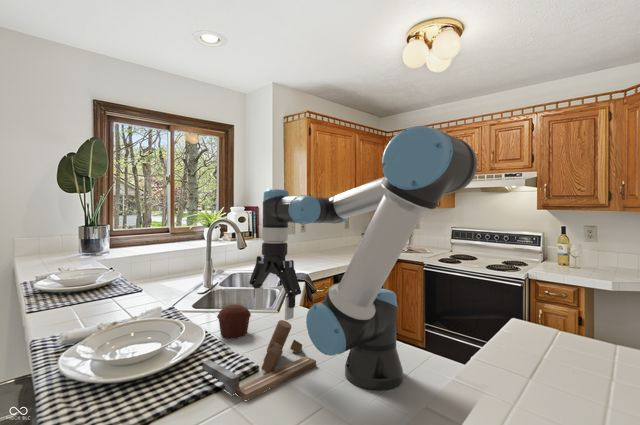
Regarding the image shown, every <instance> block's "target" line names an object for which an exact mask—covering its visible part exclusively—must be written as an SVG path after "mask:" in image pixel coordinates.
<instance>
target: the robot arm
mask: <svg viewBox="0 0 640 425" xmlns="http://www.w3.org/2000/svg"><path fill="white" fill-rule="evenodd" d="M381 164H382V166H383V167H382V173H383V174H384V176H383V177H380V178H377V179H374V180H371V181H369V182H367V183H364V184H362V185H359V186H356V187H354V188H351V189H348V190H345V191H342V192H340V193H338V194H336V195H332V196H329V197H318V196H312V195H308V194H307V195H304V194H300V195H294V196H293V195H291V196H290V195H289V192H290V191H288V190H286V189H277V188H275V189H266V190H264V192H263V200H262V232H261V233H262V234H261V241H263V242H262V243H261V255H258V256H256V261H255V262H256V263H255V265H254V268H253V271H252V274H251V277H250V279H249V281H248V282H249V285H250V286H251V285H252V287H253V298H254V305H253V306H254V307H253V310H255V311H257V310H262V309H264V287H263V284H264V282H265V281H266V280H267V278H268V276H269V275H270V274H272V275H276V277H278V279H279V280H280V282H281V285H282V287H283V289H284V291H285V293H286V296H285V295H284V296H285V297H284V299H285V300H284V306H285V307H284V321H288V320H291V319H294V318H295V317H294V314H295V312H294V309H295V307H296V296H298V295H301V294H302V290H301V287H300V282H299V280H298V277H297V273H296V270H295V264H294V263H295V262H294V260H293V259H291V260H289V259H288V260H286V256H287V255H288V243H287V241H288V236H289V234H288V232H289V231H288V230H289V223H291V224H300V225H303V224H304V225H307V224H342V223H344V222H346V221H347V220H348V219H349V218H352V217H356V216H359V215H362V214H366V213H369V212H373V211H375V212H374V214H373V216H372V218H371V220H370V222H369V224H368V225H367V228H366V230H365V232H364V234H363V236H362V238H361V240H360V242H359V244H358V245H357V247H356V250H355V252H354V254H353V256H352V258H351V260H350V262H349V264H348V266H347V268H346V270H345V272H344V274H343V275H342V278H341V280H340V282H338V283H334V284H332V285H331V286H330V287H329V289H328V291H327V292H326V295H325V298H323V301H322V302H317V303H315V304H313V305H312V306H310V307H309V308H308V311H307V314H306V320H305V321H306V322H305V324H306V329H307V332H308V333H307V334H308V337H309V339H310V341H311V343H312V344H313V347H315V348H316V349H317V351H319V352H320V353H321V354H323V355H325V356H330V357H332V356H336V355H341V354H343V353H344V352H347V351H349V353H348V356H347V357H346V358H347V359H346V361H345V365H344V376H345V378H346V379H347V380H348V381H349V382H350V383H352V384H353V385H355V386H358V387H360V388H363V389H369V390H374V391H375V390H376V391H382V390H390V389H393V388H396V387H398V386H399V385H401V384H402V382H403V380H404V371H403V370H404V369H403V366H402V363H401V359H400V357H399V356H400V355H399V353H398V350H397V326H398V325H397V324H398V323H397V322H398V321H397V320H398V318H397V317H398V316H397V315H398V302H397V295H396V293H395V292H394V291H392V290H389V289H385V288H383V285H384V284H385V282H386V280H387V279H388V277H389V276H390V274H391V272H392V269H393V268H394V267H395V264H396V263H397V261H398V259H399V257H400V255H401V254H402V252H403V250H404V248H405V247H406V245H407V244H408V242H409V240H410V238H411V236H412V234H413V232H414V231H415V229H416V227H417V225H418V224H419V222H420V220H421V218H422V216H423V215H424V214H425V213H429V212H432V211H435V209H436V208H437V206H438V204H439V203H440V201H441V200H442V198H443V196H444V195H449V194H454V193H458V192H460V191H461V190H463V189H465V188H466V187H467V186H468V185H470V183H471V182H472V181H473V180H474V177H475V175H476V173H477V170H478V158H477V155H476V153H475V151H474V149H473V147H471V145H470V144H469V143H467V142H466V141H464V140H462V139H460V138H458V137H455V136H453V135H451V134H448V133H446V132H444V131H442V130H441V129H437V128H434V127H429V126H425V125H413V126H409V127H407V128H405V129H402V130H401V131H399V132H398V133H396V134H395V135H394V136H393V137H392V138H391V139H390V140H389V142H388V143H387V145H386V147H385V148H384V151H383V154H382V159H381Z"/></svg>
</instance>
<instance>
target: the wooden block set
mask: <svg viewBox="0 0 640 425" xmlns="http://www.w3.org/2000/svg"><path fill="white" fill-rule="evenodd" d="M291 329H292V324H291V323H290V322H289V321H288V320H285V319H284V320H283V319H280V320H279V321H277V323H276V326H275V328H274V331H273V333H272V336H271V338H270V341H269V343H268V345H267V347H266V353H265V356H264V358H263V363H262V365H261V370H262V371H264V372H265V373H267V374H268V373H270V372H273V371H275V370H277V366H278V364H279V362H280V359H281V357H282V354H283V352H284V351H283V349H284V346H285V343H286V341H287V339H288V337H289V334H290V332H291ZM289 349H290V350H291V351H293V352H294V353H296V354H300V352H301V351H302V350H303V344H302V343H300V342H299V341H298V340H295V339H293V340H292V343H291V345H290V348H289Z"/></svg>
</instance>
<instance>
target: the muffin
mask: <svg viewBox="0 0 640 425" xmlns="http://www.w3.org/2000/svg"><path fill="white" fill-rule="evenodd" d="M251 316H252V313H251V312H250V310H249V309H248V308H247V307H246V306H243V305H241V304H234V303H233V304H229V305H226V306H224V307H223V308H221V309H220V311H219V312H218V314H217V316H216V318H217V319H218V323H219V331H220V335H221V337H222V338H225V339H229V340H230V339H239V338H243V337H245V336H246V335H247V333H248V330H249V323H250V318H251Z"/></svg>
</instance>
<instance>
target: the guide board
mask: <svg viewBox="0 0 640 425" xmlns="http://www.w3.org/2000/svg"><path fill="white" fill-rule="evenodd" d="M314 367H317V359H313V358H311V357H308V356H304V357H301V358H299V359H297V360H294V361H293V362H290V363H288V364H286V365H284V366H281V367H279V368H276V369H275V370H274V371H273V372H270V373H267V374H264V375H261V376H259V377H258V378H255V379H253V380H251V381H248V382H246V383H243V384H242V385H240V375H239V374H236V373H234V372H233V371H231V370H229V369H227V368H226V367H224V366H221V364H219V363H216V362H214V361H213V360H210V359H208V360H205V361H202V370H203V369H204V370H205V371H206V372H208V373H209V374H210V375H212V376H213V377H215V378H216V379H218V380H219V381H221V382H223V383H224V386H225V390H226V391H227V392H229V393H230V394H231V395H233V394H235V393H236V394H237V395H238V396H239V397H238V396H237V395H236V396H237V397H238V398H240V397H241V398H242V399H241V398H240V399H241V400H243V399H244V400H243V401H245V400H247V401H249V400H251V399H253V398H255V397H257V396H259V395H261V394H263V393H265V392H267V391H269V390H270V389H269V388H271V389H273V388H275V387H277V386H279V385H281V384H283V383H284V382H287V381H289V380H291V379H293V378H295V377H298V376H299V375H301V374H303V373H305V372H307V371H308V370H311V369H312V368H314ZM282 382H283V383H282ZM280 383H281V384H280ZM278 384H279V385H278ZM276 385H277V386H276ZM274 386H275V387H274ZM272 387H273V388H272ZM268 389H269V390H268ZM266 390H267V391H266ZM264 391H265V392H264ZM262 392H263V393H262ZM256 395H257V396H256ZM254 396H255V397H254ZM252 397H253V398H252ZM250 398H251V399H250ZM248 399H249V400H248Z"/></svg>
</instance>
